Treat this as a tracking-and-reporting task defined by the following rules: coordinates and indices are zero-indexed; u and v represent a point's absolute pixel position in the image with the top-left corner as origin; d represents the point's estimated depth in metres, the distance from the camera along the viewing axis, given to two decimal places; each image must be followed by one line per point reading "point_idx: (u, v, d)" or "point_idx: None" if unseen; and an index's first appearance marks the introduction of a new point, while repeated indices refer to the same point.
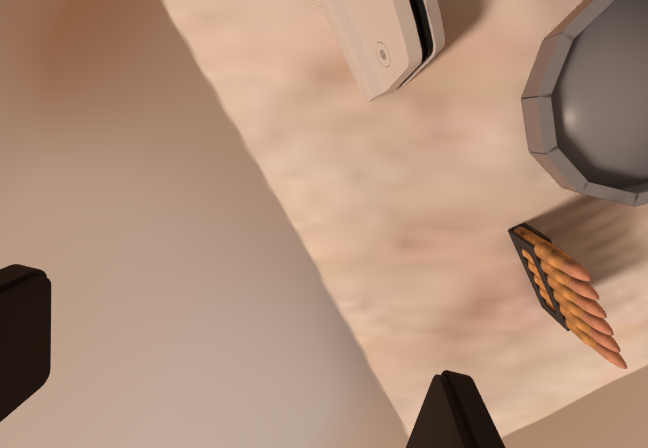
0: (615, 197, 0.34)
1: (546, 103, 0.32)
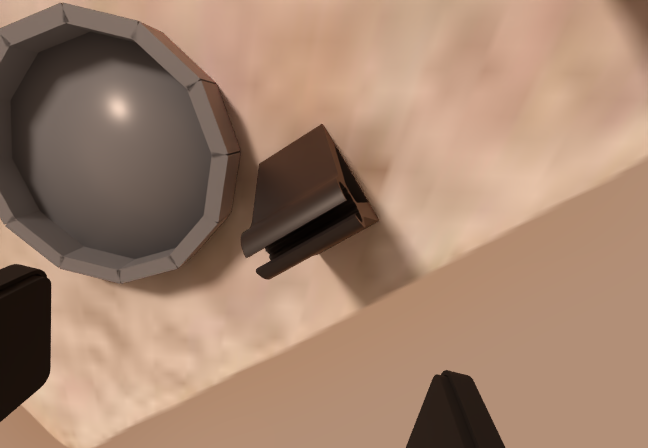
0: None
1: (56, 19, 0.24)
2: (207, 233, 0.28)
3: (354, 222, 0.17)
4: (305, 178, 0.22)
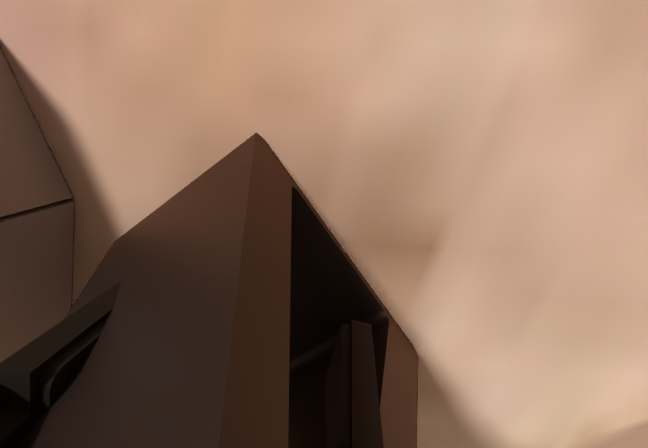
0: None
1: None
2: None
3: None
4: (114, 396, 0.05)
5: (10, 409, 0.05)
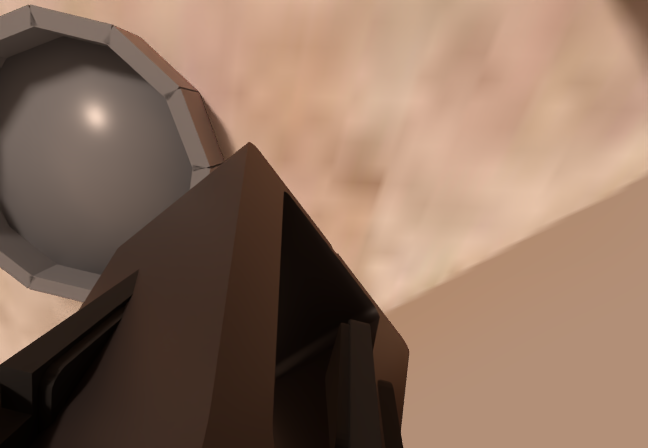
0: None
1: (23, 22, 0.22)
2: None
3: None
4: (123, 377, 0.05)
5: (12, 409, 0.05)
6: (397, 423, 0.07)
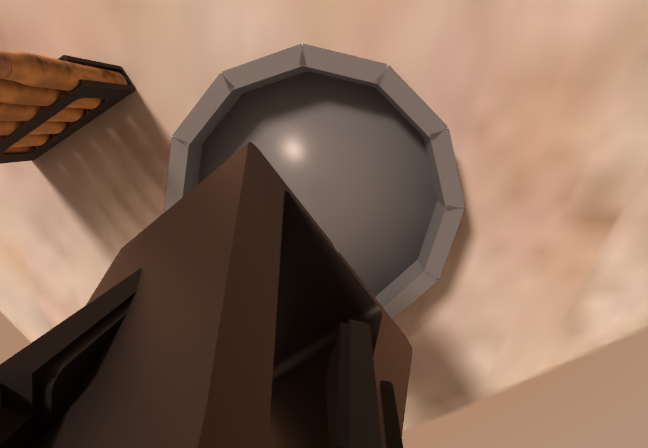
0: (172, 185, 0.24)
1: (292, 61, 0.22)
2: (424, 290, 0.25)
3: None
4: (122, 379, 0.05)
5: (12, 409, 0.05)
6: (397, 423, 0.07)
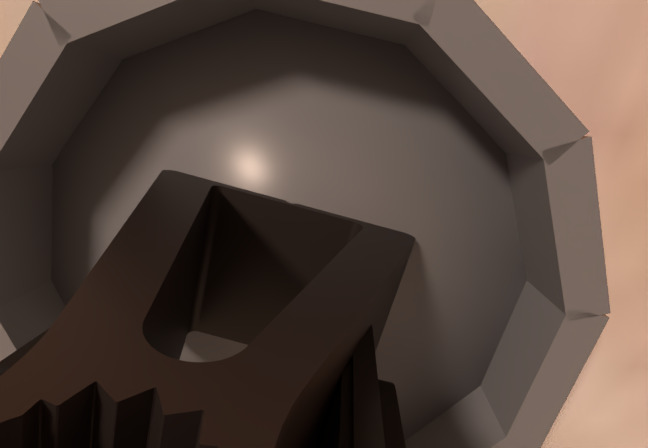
0: None
1: None
2: None
3: None
4: None
5: None
6: (400, 424, 0.07)
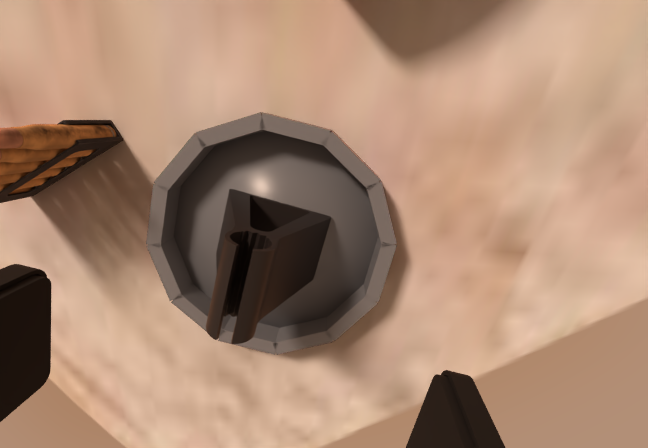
0: (154, 222, 0.29)
1: (253, 125, 0.26)
2: (366, 311, 0.30)
3: (257, 254, 0.19)
4: None
5: None
6: None
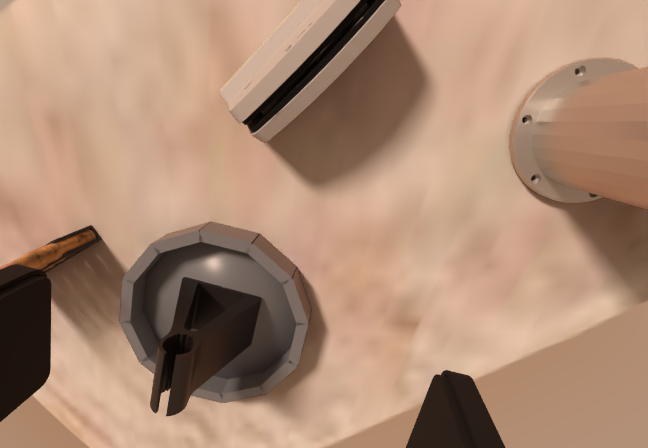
0: (124, 306, 0.38)
1: (194, 239, 0.35)
2: (289, 372, 0.39)
3: (179, 359, 0.28)
4: None
5: None
6: None
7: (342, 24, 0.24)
